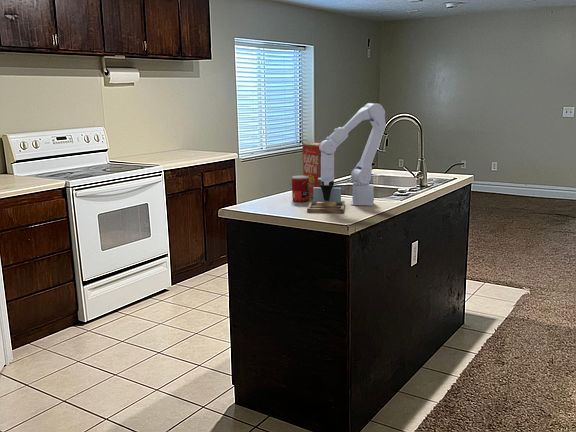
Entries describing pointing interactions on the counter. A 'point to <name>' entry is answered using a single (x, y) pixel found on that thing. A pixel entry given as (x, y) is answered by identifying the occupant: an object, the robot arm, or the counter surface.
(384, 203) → the counter surface
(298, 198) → the canned food
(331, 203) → the offcut
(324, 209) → the rack
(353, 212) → the counter surface
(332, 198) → the panel
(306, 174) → the food packaging
